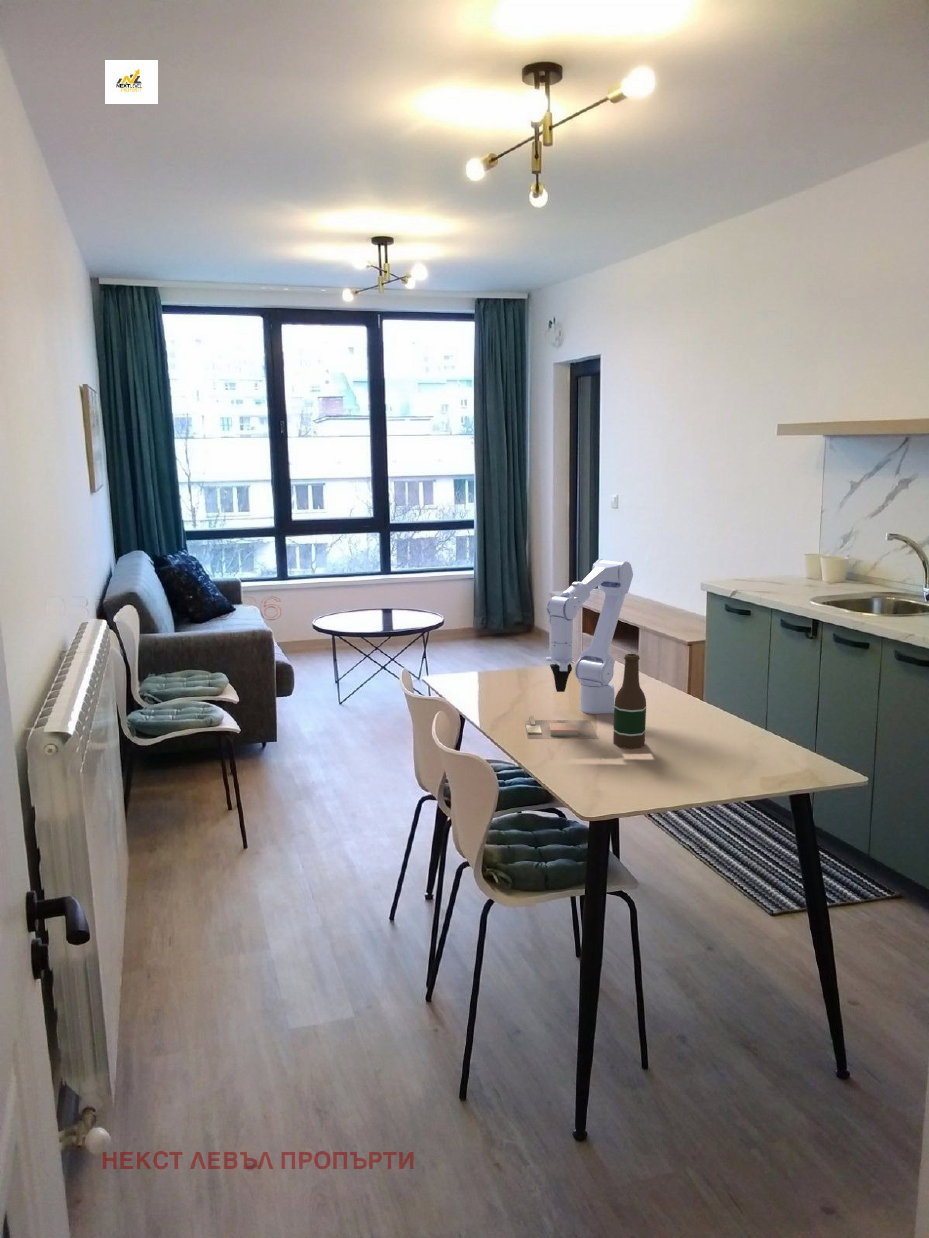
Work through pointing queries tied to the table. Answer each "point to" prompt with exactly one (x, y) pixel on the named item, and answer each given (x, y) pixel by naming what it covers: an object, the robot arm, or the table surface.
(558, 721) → the board
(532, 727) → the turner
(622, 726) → the beer bottle
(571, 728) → the tile
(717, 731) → the table surface
